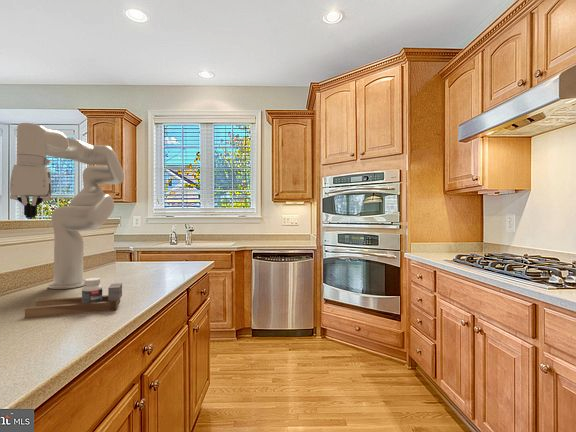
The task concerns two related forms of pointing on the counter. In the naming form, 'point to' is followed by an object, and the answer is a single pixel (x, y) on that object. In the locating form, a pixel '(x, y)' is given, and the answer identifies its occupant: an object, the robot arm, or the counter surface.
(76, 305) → the beam
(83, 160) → the robot arm
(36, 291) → the counter surface
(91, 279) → the pill bottle
